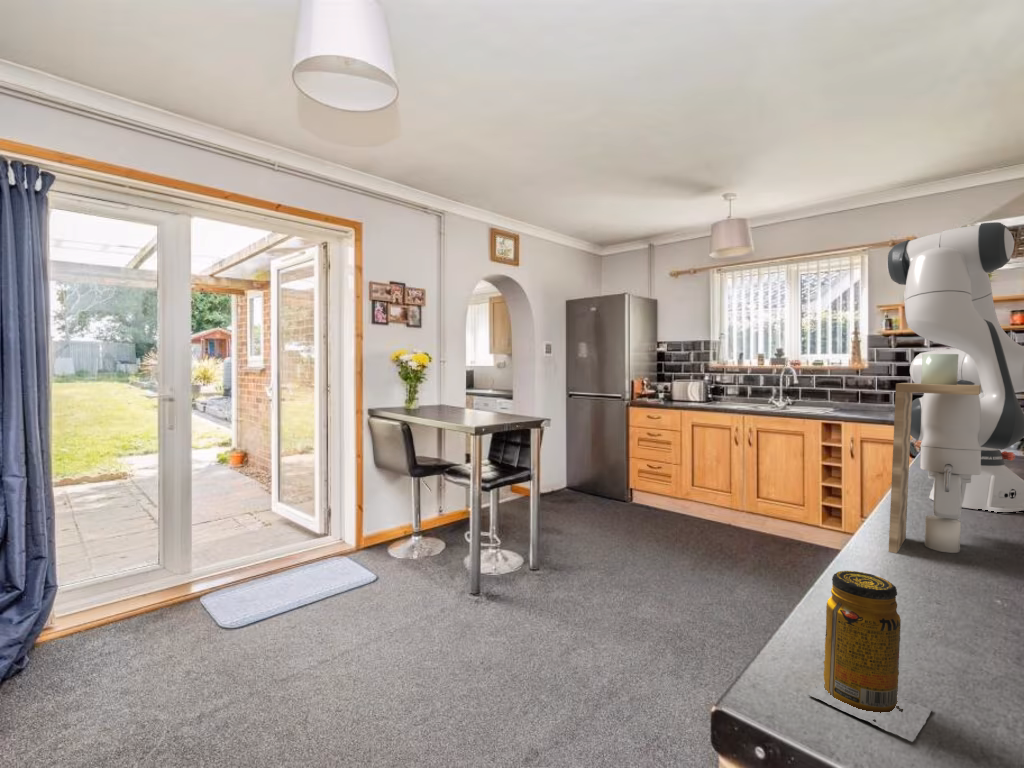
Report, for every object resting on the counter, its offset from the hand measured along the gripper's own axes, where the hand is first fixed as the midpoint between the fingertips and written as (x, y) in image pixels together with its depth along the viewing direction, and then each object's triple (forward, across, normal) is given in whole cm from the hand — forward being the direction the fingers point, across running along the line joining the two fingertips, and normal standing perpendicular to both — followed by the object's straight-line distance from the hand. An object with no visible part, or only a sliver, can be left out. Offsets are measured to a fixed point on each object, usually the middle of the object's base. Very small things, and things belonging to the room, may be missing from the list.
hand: (948, 535), depth 98 cm
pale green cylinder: (-28, -10, +1) cm, 30 cm away
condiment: (+6, -68, +4) cm, 69 cm away
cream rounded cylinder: (+2, -4, +1) cm, 5 cm away
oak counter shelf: (+2, -8, +2) cm, 9 cm away
